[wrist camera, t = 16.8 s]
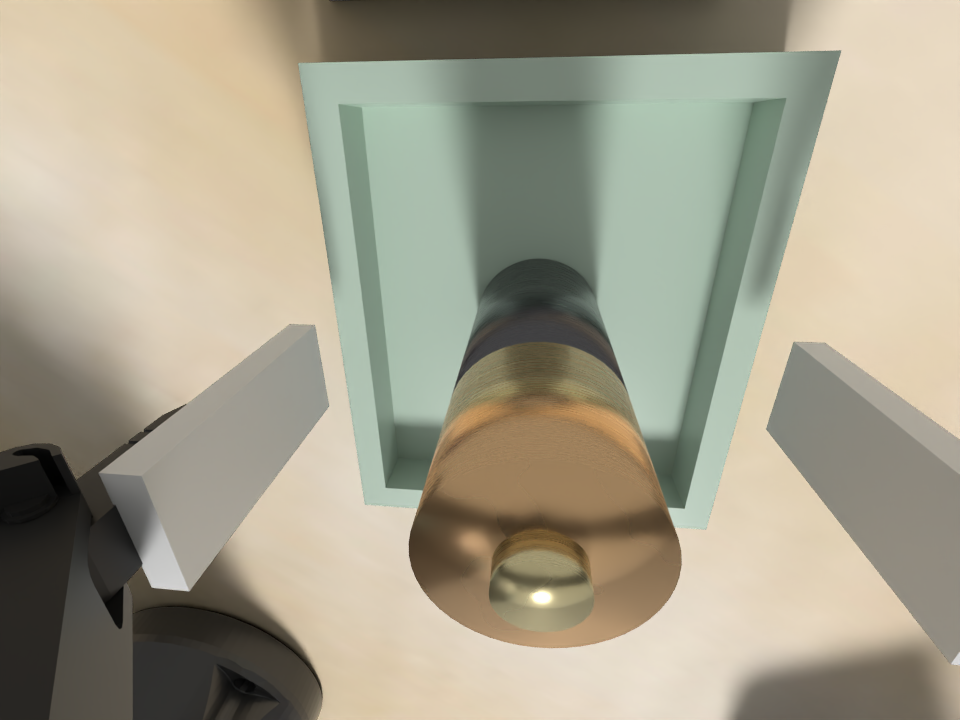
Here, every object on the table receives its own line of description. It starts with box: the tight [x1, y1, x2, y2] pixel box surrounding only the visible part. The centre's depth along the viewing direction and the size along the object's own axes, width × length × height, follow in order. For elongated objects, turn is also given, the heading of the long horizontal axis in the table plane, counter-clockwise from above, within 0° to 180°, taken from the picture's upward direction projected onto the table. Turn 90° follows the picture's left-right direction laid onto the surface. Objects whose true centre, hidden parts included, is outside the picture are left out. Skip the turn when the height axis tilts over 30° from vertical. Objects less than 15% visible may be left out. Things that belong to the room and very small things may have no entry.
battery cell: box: [409, 259, 682, 648], centre depth 12 cm, size 4×4×12 cm
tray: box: [298, 51, 841, 530], centre depth 17 cm, size 14×16×3 cm
